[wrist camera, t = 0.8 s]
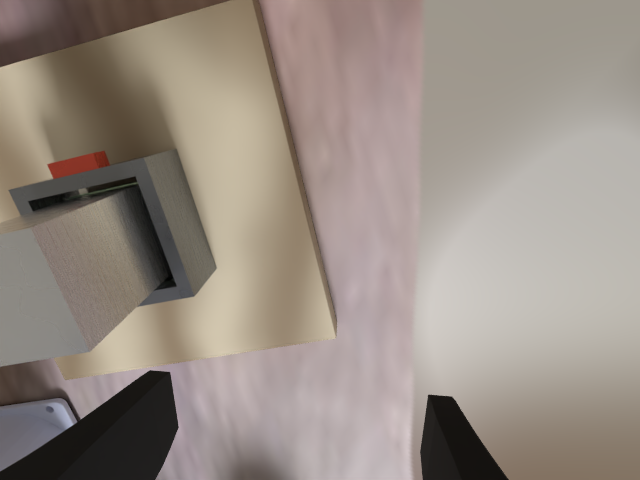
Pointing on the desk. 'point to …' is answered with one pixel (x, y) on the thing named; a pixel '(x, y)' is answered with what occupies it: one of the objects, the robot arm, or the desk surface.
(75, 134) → the stand base
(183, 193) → the sleeve
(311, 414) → the desk surface
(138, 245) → the column
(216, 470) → the desk surface
